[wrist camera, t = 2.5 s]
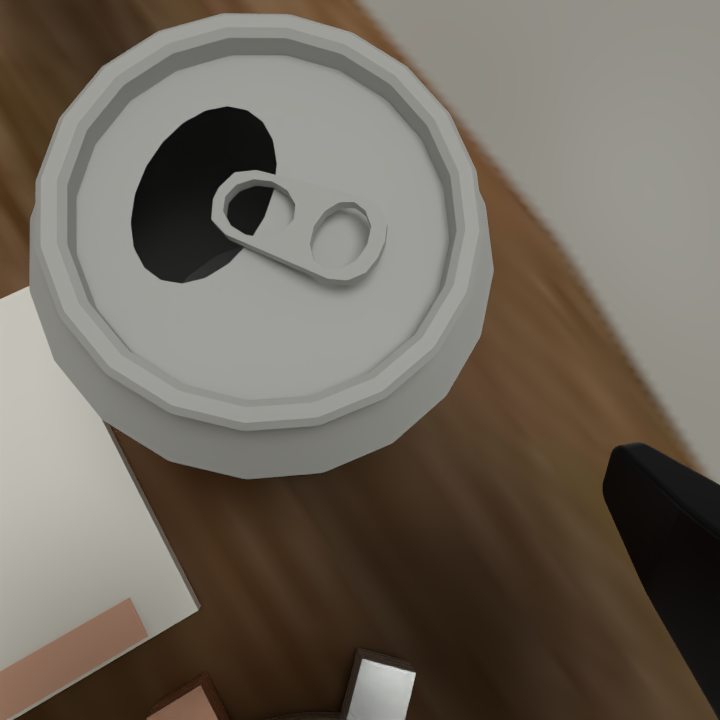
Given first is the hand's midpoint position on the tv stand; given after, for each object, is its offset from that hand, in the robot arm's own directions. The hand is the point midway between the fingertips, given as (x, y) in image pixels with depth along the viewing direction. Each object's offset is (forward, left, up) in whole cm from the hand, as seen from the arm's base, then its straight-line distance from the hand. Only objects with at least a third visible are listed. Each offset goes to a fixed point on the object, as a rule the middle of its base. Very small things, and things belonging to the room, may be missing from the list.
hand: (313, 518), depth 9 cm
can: (+4, -2, -11) cm, 12 cm away
